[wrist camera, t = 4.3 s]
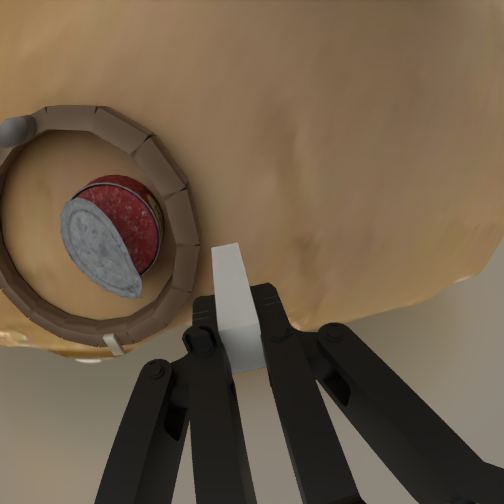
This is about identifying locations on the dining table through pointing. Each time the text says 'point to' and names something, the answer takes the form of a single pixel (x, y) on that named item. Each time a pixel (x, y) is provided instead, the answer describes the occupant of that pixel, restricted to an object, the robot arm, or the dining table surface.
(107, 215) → the canned food
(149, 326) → the index ring
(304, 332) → the robot arm
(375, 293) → the dining table surface
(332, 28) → the dining table surface
